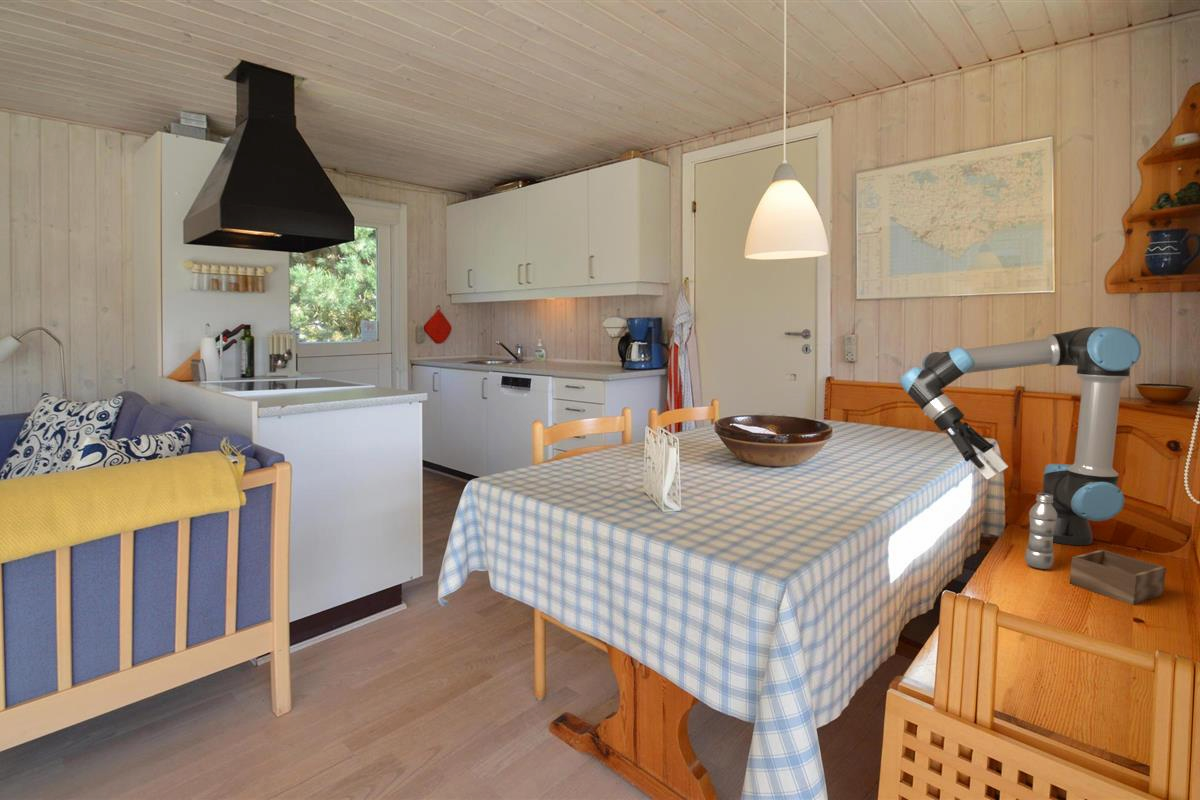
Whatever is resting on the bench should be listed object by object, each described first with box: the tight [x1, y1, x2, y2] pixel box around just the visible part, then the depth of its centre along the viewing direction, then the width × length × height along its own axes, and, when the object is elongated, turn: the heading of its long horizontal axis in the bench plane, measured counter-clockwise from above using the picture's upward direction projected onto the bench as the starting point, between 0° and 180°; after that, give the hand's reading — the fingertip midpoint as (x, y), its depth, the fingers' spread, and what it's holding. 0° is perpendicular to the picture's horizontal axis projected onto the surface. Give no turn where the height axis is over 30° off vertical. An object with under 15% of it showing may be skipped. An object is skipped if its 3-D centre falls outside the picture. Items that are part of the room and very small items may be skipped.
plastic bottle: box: [1024, 492, 1058, 570], centre depth 172 cm, size 6×7×20 cm
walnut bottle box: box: [1068, 549, 1167, 606], centre depth 158 cm, size 14×14×7 cm
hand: (998, 473), depth 177 cm, fingers open, 13 cm apart
